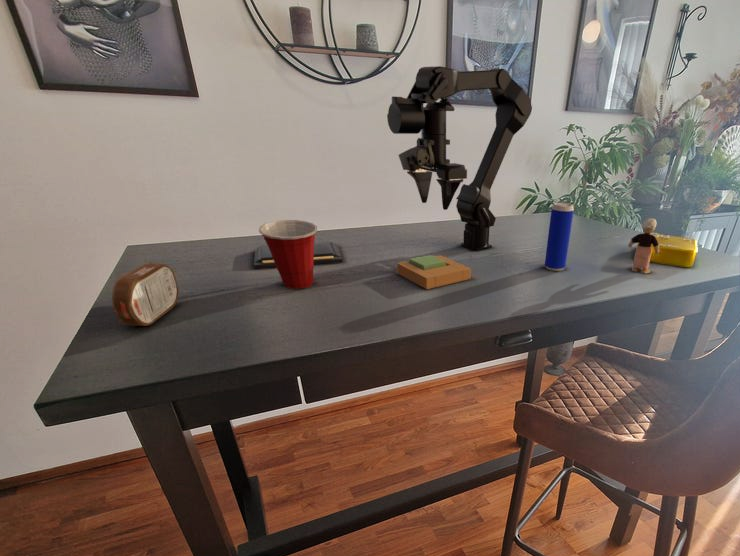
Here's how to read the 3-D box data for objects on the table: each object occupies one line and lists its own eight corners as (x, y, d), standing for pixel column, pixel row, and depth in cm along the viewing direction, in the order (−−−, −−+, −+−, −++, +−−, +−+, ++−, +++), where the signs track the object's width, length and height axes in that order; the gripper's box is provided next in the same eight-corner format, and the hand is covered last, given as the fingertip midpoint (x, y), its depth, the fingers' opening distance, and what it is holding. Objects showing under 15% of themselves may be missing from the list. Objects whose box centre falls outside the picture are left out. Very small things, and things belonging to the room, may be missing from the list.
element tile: (633, 260, 119) (637, 242, 116) (638, 246, 131) (642, 230, 128) (692, 268, 115) (698, 250, 112) (692, 254, 126) (697, 237, 124)
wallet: (336, 238, 117) (342, 255, 105) (337, 245, 118) (343, 263, 106) (254, 242, 111) (250, 260, 99) (256, 250, 112) (252, 268, 100)
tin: (169, 299, 84) (153, 255, 79) (187, 299, 84) (172, 255, 79) (122, 335, 71) (100, 285, 67) (143, 335, 71) (123, 285, 67)
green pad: (431, 267, 106) (431, 254, 104) (445, 275, 102) (445, 261, 101) (409, 272, 103) (409, 258, 101) (424, 279, 99) (423, 265, 97)
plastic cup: (274, 297, 87) (260, 235, 81) (268, 279, 95) (255, 221, 88) (330, 289, 91) (321, 230, 85) (320, 273, 99) (311, 218, 93)
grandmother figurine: (654, 271, 112) (668, 219, 105) (653, 275, 109) (666, 222, 102) (624, 266, 114) (635, 214, 107) (621, 270, 111) (633, 217, 104)
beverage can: (564, 265, 112) (573, 203, 104) (565, 272, 108) (575, 207, 100) (544, 264, 113) (551, 201, 104) (544, 270, 108) (552, 205, 100)
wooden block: (440, 265, 108) (440, 254, 107) (470, 279, 101) (470, 268, 99) (397, 273, 102) (397, 263, 100) (426, 289, 94) (426, 278, 93)
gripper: (382, 130, 102) (386, 202, 111) (426, 137, 90) (428, 217, 99) (422, 130, 108) (424, 198, 117) (469, 137, 96) (467, 212, 105)
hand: (434, 206), depth 109 cm, fingers open, 9 cm apart
